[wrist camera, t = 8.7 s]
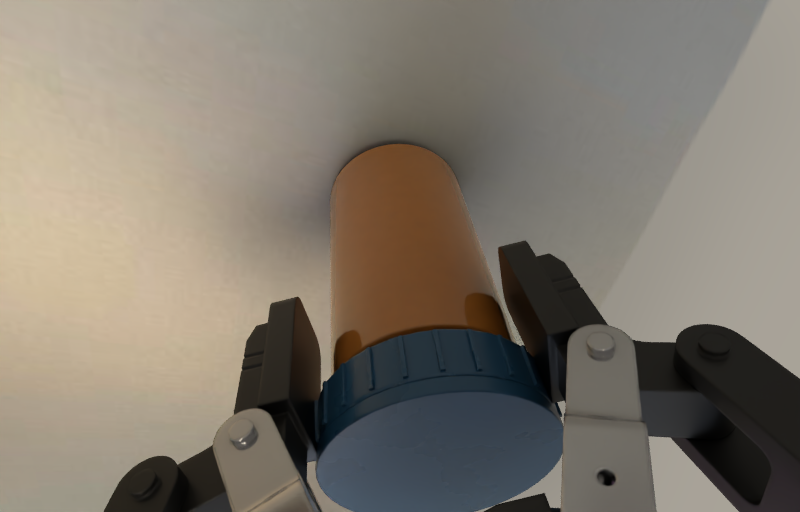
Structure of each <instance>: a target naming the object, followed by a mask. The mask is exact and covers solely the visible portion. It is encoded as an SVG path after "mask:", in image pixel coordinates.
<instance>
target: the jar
mask: <svg viewBox="0 0 800 512" xmlns="http://www.w3.org/2000/svg"><path fill="white" fill-rule="evenodd" d="M330 262H331V376H332V375H333V374H334V372H335V371H336V370H338V369H339V368H340V365H341V364H342V363H345V362H347V361H348V360H349V359H351V358H352V357H354V356H355V355H357V354H359V353H361V352H362V351H364V350H366V348H368V347H372V346H374V345H377V344H379V343H381V342H384V341H386V340H389V339H391V338H392V339H393V338H394V337H397V336H400V335H407V334H411V333H415V332H422V331H429V330H433V329H466V330H467V329H472V330H474V331H481V332H488V333H492V334H494V335H498V334H499V335H502V337H503V338H506V339H508V340H510V341H512V342H514V343H516V341H515V338H514V336H513V333H512V330H511V327H510V325H509V322H508V319H507V316H506V314H505V311H504V308H503V305H502V303H501V300H500V297H499V294H498V291H497V289H496V286H495V283H494V280H493V278H492V275H491V272H490V269H489V267H488V264H487V261H486V258H485V256H484V253H483V250H482V247H481V245H480V242H479V239H478V236H477V233H476V231H475V228H474V225H473V222H472V220H471V217H470V214H469V211H468V209H467V206H466V203H465V200H464V198H463V195H462V192H461V189H460V186H459V184H458V181H457V178H456V176H455V174H454V172H453V171H452V169H451V168H450V166H449V165H448V164H447V163H446V162H445V161H444V160H443V159H442V158H441V157H439V156H438V155H436V154H435V153H433V152H431V151H429V150H427V149H424V148H422V147H418V146H415V145H408V144H389V145H383V146H379V147H376V148H373V149H370V150H368V151H366V152H364V153H362V154H360V155H358V156H357V157H355V158H354V159H353V160H351V161H350V162H349V163H348V164H347V165H346V166H345V167H344V168H343V169H342V170H341V172H340V173H339V175H338V176H337V178H336V180H335V182H334V184H333V187H332V191H331V196H330Z"/></svg>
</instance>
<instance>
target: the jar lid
mask: <svg viewBox="0 0 800 512" xmlns="http://www.w3.org/2000/svg"><path fill="white" fill-rule="evenodd" d="M560 417H562V413H561V411H560V408H559V406H558V403H557V402H556V403H552V401H551V398H550V396H549V393H548V391H547V388H546V386H545V383H544V381H543V379H542V376H541V374H540V371H539V369H538V367H537V364H536V362H535V359H534V358H533V357H532V355H531V354H530V353H529V352H527V350H526V347H525V346H524V345H522V346H519V345H518V344H516V343H514V342H512V341H510V340H508V339H506V338H503V337H502V335H499V334H498V335H494V334H492V333H488V332H481V331H474V330H472V329H467V330H466V329H433V330H429V331H422V332H415V333H411V334H407V335H400V336H397V337H394V338H393V339H392V338H391V339H389V340H386V341H384V342H381V343H379V344H377V345H374V346H372V347H368V348H366V350H364V351H362V352H361V353H359V354H357V355H355V356H354V357H352V358H351V359H349V360H348V361H347V362H345V363H342V364H341V365H340V368H339V369H338V370H336V371H335V372H334V374H333V375H332V376H331V377H330V378H329V380H328V381H327V382H326V381H324V382H323V389H322V391H321V394H320V397H319V399H318V400H315V438H316V443H317V446H318V447H317V455H316V460H315V461H316V468H315V470H316V478H317V480H318V483H319V485H320V487H321V489H322V490H323V491H324V493H325V494H326V495H327V496H328V497H329V498H330V499H331V500H333V501H334V502H336V503H337V504H339V505H340V506H342V507H344V508H347V509H349V510H351V511H354V512H474V511H478V510H481V509H484V508H488V507H491V506H494V505H496V504H499V503H501V502H503V501H506V500H508V499H510V498H512V497H514V496H517V495H518V494H520V493H522V492H524V491H525V490H527V489H529V488H530V487H532V486H533V485H535V484H536V483H538V482H539V481H540V480H541V479H542V478H544V477H545V476H546V475H547V474H548V473H549V472H550V471H551V470H552V469H553V467H555V465H556V464H557V462H558V461H559V460H560V458H561V455H562V453H563V427H564V426H563V424H562V421H561V418H560Z"/></svg>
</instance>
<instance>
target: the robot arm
mask: <svg viewBox="0 0 800 512" xmlns="http://www.w3.org/2000/svg"><path fill="white" fill-rule="evenodd" d="M498 254H499V262H500V271H501V279H502V287H503V293H504V298H505V302H506V305H507V308H508V311H509V313H510V315H511V317H512V319H513V321H514V324H515V326H516V328H517V330H518V332H519V334H520V336H521V338H522V341H523V343H524V345H525V347H526V349H527V351H528V352H529V353H530V354H531V355H532V357H533V358H534V359H535V362H536V364H537V367H538V369H539V371H540V374H541V376H542V379H543V381H544V383H545V386H546V388H547V391H548V393H549V396H550V398H551V401H552V403H556V402H560V401H565V403H566V409H565V414H564V427H563V456H562V487H561V508H550V506H549V503H548V501H547V498H546V496H545V494H544V493H543V494H538V495H535V496H531V497H526V498H522V499H518V500H514V501H510V502H505V503H502V504H497V505H495V506H493V507H492V508H490V509H488V510H486V511H484V512H656V503H655V494H654V484H653V475H652V466H651V457H650V448H649V439H648V436H655V437H671V438H672V440H673V441H674V442H675V443H676V444H677V445H678V446H679V447H680V448H681V449H682V451H683V452H684V453H685V454H686V455H687V456H688V457H689V458H690V459H691V460H692V461H693V462H694V463H695V465H696V466H697V467H698V468H699V469H700V470H701V471H702V472H703V473H704V474H705V475H706V476H707V477H708V479H709V480H710V481H711V482H712V483H713V484H714V485H715V486H716V487H717V488H718V489H719V490H720V492H721V493H722V494H723V495H724V496H725V497H726V498H727V499H728V500H729V501H730V502H731V503H732V505H733V506H734V507H735V508H736V509H737V510H738V511H739V512H800V379H799V378H798V377H797V376H795V375H794V374H793V373H791V372H790V371H788V370H787V369H786V368H784V367H783V366H782V365H780V364H779V363H778V362H776V361H775V360H774V359H772V358H771V357H770V356H768V355H767V354H765V353H764V352H763V351H761V350H760V349H759V348H757V347H756V346H755V345H753V344H752V343H751V342H749V341H748V340H747V339H745V338H744V337H743V336H741V335H740V334H738V333H737V332H735V331H733V330H731V329H728V328H725V327H722V326H717V325H710V324H702V325H694V326H691V327H688V328H686V329H684V330H683V331H682V332H681V333H680V334H679V335H678V337H677V339H676V343H670V342H660V343H659V342H641V341H635V340H632V339H631V338H630V337H629V336H628V335H627V334H626V333H625V332H623V331H622V330H620V329H618V328H615V327H612V326H609V325H608V324H607V323H606V322H605V320H604V319H603V317H602V316H601V315H600V313H599V312H598V310H597V309H596V307H595V306H594V304H593V303H592V301H591V300H590V299H589V297H588V296H587V294H586V293H585V291H584V290H583V289H582V288H581V287H580V284H579V283H578V281H577V280H576V278H575V277H573V274H572V273H571V271H570V270H569V268H568V267H567V266H566V264H565V263H564V262H563V261H561V260H559V259H558V258H556V257H554V256H553V255H551V254H545V255H541V256H537V257H536V255H535V254H534V252H533V251H532V249H531V247H530V246H529V244H528V243H527V242H526V241H521V242H517V243H513V244H509V245H505V246H501V247H499V248H498ZM244 357H245V359H243V365H242V371H241V376H240V382H239V387H238V393H237V398H236V404H235V410H234V415H233V416H232V417H230V418H229V419H228V420H226V421H225V422H224V423H223V424H222V426H221V427H220V428H219V430H218V431H217V433H216V435H215V437H214V441H213V445H212V446H211V447H209V448H208V449H206V450H204V451H202V452H201V453H199V454H197V455H195V456H193V457H191V458H189V459H188V460H186V461H184V462H182V463H180V464H178V465H177V464H176V462H175V461H174V460H173V459H172V458H170V457H167V456H156V457H152V458H149V459H147V460H144V461H143V462H141V463H139V464H138V465H136V466H135V467H133V468H132V469H131V470H130V471H129V472H128V473H127V474H126V475H125V476H124V477H123V478H122V480H121V481H120V482H119V484H118V486H117V487H116V489H115V491H114V493H113V495H112V497H111V499H110V501H109V502H108V504H107V506H106V508H105V510H104V512H323V511H322V509H321V507H320V505H319V503H318V501H317V499H316V497H315V495H314V493H313V491H312V488H311V486H310V484H309V483H308V481H307V462H311V461H315V460H316V455H317V447H318V446H317V443H316V438H315V400H318V399H319V397H320V394H321V356H320V348H319V344H318V340H317V337H316V335H315V332H314V330H313V328H312V325H311V323H310V321H309V318H308V316H307V313H306V311H305V309H304V306H303V304H302V302H301V300H300V298H299V297H294V298H290V299H286V300H282V301H278V302H274V303H271V305H270V311H269V318H268V323H266V324H262V325H258V326H256V327H255V329H254V330H253V332H252V333H251V335H250V337H249V338H248V340H247V342H246V348H245V353H244Z"/></svg>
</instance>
